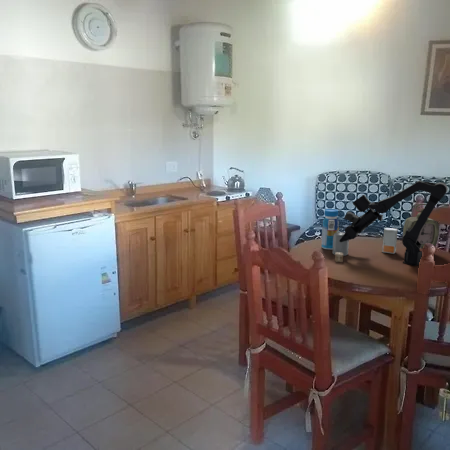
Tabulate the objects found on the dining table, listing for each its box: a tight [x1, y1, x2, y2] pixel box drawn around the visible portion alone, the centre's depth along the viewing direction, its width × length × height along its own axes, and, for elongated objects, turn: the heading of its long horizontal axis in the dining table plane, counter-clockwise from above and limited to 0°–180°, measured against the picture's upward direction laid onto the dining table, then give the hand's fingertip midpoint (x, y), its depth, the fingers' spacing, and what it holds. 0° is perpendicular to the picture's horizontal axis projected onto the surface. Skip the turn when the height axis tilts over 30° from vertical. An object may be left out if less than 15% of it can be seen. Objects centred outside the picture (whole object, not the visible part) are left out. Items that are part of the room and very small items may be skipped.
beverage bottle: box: [321, 208, 340, 251], centre depth 237 cm, size 8×8×20 cm
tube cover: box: [332, 231, 350, 257], centre depth 228 cm, size 7×7×10 cm
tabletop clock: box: [402, 203, 440, 250], centre depth 229 cm, size 14×9×25 cm, turn 92°
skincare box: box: [381, 227, 399, 255], centre depth 231 cm, size 6×4×12 cm
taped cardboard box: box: [334, 252, 344, 263], centre depth 216 cm, size 4×4×4 cm
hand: (342, 239), depth 227 cm, fingers open, 9 cm apart
